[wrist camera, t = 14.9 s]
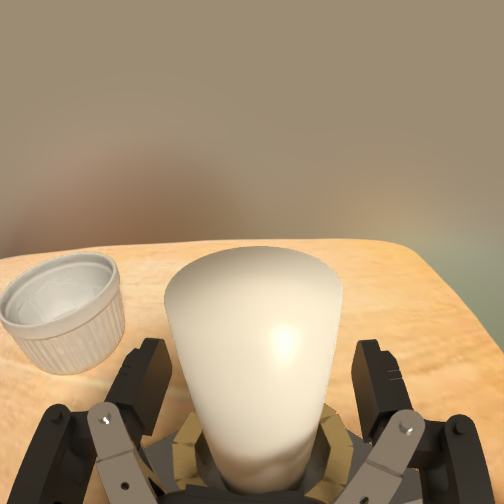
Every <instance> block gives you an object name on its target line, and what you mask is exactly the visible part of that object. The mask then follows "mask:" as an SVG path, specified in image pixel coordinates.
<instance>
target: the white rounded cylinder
mask: <svg viewBox="0 0 504 504" xmlns="http://www.w3.org/2000/svg"><path fill="white" fill-rule="evenodd" d="M342 302H343V287H342V283H341V281H340V279H339V277H338V276H337V274H336V273H335V272H334V271H333V270H332V269H331V268H330V267H329V266H328V265H327V264H325V263H324V262H322V261H320V260H319V259H317V258H315V257H313V256H311V255H308V254H305V253H302V252H299V251H295V250H291V249H286V248H279V247H268V246H253V247H240V248H233V249H228V250H223V251H219V252H216V253H212V254H209V255H207V256H204V257H202V258H199V259H197V260H195V261H193V262H192V263H190V264H188V265H187V266H185V267H184V268H182V269H181V270H180V271H179V272H178V273H177V274H176V275H175V276H174V277H173V278H172V279H171V281H170V282H169V284H168V286H167V288H166V290H165V295H164V305H165V309H166V313H167V317H168V321H169V324H170V328H171V332H172V336H173V339H174V343H175V346H176V350H177V353H178V357H179V360H180V364H181V367H182V370H183V373H184V377H185V380H186V383H187V386H188V389H189V392H190V395H191V398H192V401H193V404H194V407H195V410H196V413H197V416H198V419H199V422H200V425H201V427H202V430H203V433H204V436H205V438H206V441H207V444H208V446H209V449H210V451H211V454H212V456H213V459H214V461H215V464H216V466H217V469H218V471H219V474H220V476H221V479H222V481H223V483H224V485H225V486H226V488H227V489H228V490H229V491H230V492H231V493H233V494H236V495H240V496H250V495H256V494H261V493H267V492H272V491H296V490H297V489H298V487H299V486H300V485H301V483H302V481H303V479H304V476H305V473H306V470H307V466H308V463H309V459H310V456H311V452H312V448H313V445H314V441H315V437H316V433H317V429H318V425H319V421H320V417H321V413H322V409H323V405H324V400H325V396H326V391H327V387H328V382H329V377H330V372H331V367H332V362H333V357H334V351H335V346H336V340H337V334H338V328H339V322H340V316H341V309H342Z"/></svg>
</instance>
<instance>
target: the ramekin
mask: <svg viewBox="0 0 504 504" xmlns="http://www.w3.org/2000/svg"><path fill="white" fill-rule="evenodd" d="M119 285H120V275H119V271H118V268H117V265H116V263H115V261H114V260H113V259H112V258H110V257H109V256H107V255H104V254H101V253H96V252H77V253H71V254H66V255H62V256H59V257H55V258H52V259H49V260H47V261H44V262H42V263H40V264H38V265H36V266H34V267H32V268H30V269H28V270H27V271H25V272H24V273H22V274H21V275H20V276H18V277H17V278H16V279H15V280H14V281H12V282H11V283H10V284H9V285H8V287H7V288H6V289H5V290H4V292H3V293H2V295H1V296H0V321H1V323H2V325H3V327H4V328H5V329H6V331H7V332H8V333H10V334H11V335H12V337H13V338H14V340H15V341H16V343H17V344H18V346H19V347H20V348H21V350H22V351H23V352H24V354H25V355H26V356H27V357H28V359H29V360H30V361H31V362H32V363H33V364H34V365H35V366H36V367H38V368H40V369H41V370H43V371H46V372H48V373H52V374H56V375H74V374H79V373H82V372H85V371H87V370H90V369H92V368H94V367H96V366H97V365H99V364H100V363H102V362H103V361H104V360H106V359H107V358H108V357H109V356H110V355H111V354H112V353H113V351H114V350H115V349H116V347H117V346H118V344H119V342H120V340H121V338H122V335H123V333H124V328H125V316H124V310H123V304H122V299H121V293H120V287H119Z"/></svg>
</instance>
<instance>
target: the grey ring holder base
mask: <svg viewBox="0 0 504 504" xmlns="http://www.w3.org/2000/svg"><path fill="white" fill-rule="evenodd" d="M194 412H195V413H194ZM194 412H190V414H189V416H188V417H187V419H186V421H185V422H184V424H183V426H182V427H181V429H180V430H179V431H177V432H175V433H173V434H172V435H170V436H168V437H166V438H164V439H162V440H161V441H159V442H157V443H155V444H153V445H151V446H149V447H147V448H146V449H144V450H145V452H146V454H147V456H148V458H149V460H150V462H151V464H152V466H153V468H154V470H155V472H156V474H157V476H158V478H159V479H160V481H161V482H162V484H163V485H164V487H165V488H166V490H167V491H168V492H173V491H177V490H184V489H185V488H186V484H192V485H199V486H206V487H215V488H217V489H221V490H224V491H227V492H230V491H229V490H228V489H227V488H226V486H225V485H224V483H223V481H222V479H221V476H220V474H219V471H218V469H217V466H216V464H215V461H214V459H213V456H212V454H211V451H210V449H209V446H208V444H207V441H206V438H205V436H204V433H203V430H202V427H201V425H200V422H199V419H198V416H197V413H196V410H195V409H194ZM372 449H373V447H372V445H371V444H369V443H364V442H363V439H361V438H360V437H358V436H356V435H355V434H353V433H352V432H350V431H349V430H347V429H346V428H345V426H344V424H343V422H342V420H341V418H340V416H339V414H336V411H335V410H334V409H332V408H331V407H329V406H328V405H326V404H325V403H324V405H323V409H322V413H321V417H320V421H319V425H318V429H317V433H316V437H315V441H314V445H313V448H312V452H311V456H310V459H309V463H308V466H307V470H306V473H305V476H304V479H303V481H302V483H301V485H300V486H299V487H298V489H297V490H296V491H299V490H304V496H309V497H312V498H316V499H319V500H321V501H323V502H325V503H327V504H334V503H335V502H336V500H337V499H338V498H339V497H340V495H341V494H342V493H343V491H344V490H345V489H346V487H347V486H348V485H349V483H350V482H351V480H352V479H353V478H354V476H355V475H356V473H357V472H358V471H359V469H360V468H361V466H362V465H363V463H364V462H365V460H366V459H367V457H368V456H369V454H370V453H371V451H372ZM230 493H231V492H230ZM388 504H423V496H422V489H421V481H420V474H419V473H418V472H417V471H415V470H413V469H411V468H406V469H405V471H404V473H403V479H402V481H401V483H400V485H399V487H398V488H397V490H396V492H395V493H394V495H393V497H392V498H391V500H390V502H389V503H388Z"/></svg>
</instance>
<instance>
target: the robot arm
mask: <svg viewBox="0 0 504 504" xmlns="http://www.w3.org/2000/svg"><path fill="white" fill-rule="evenodd" d="M171 375H172V363H171V360H170V357H169V354H168V351H167V347H166V344H165V341H164V340H163V339H156V338H145V339H144V341H143V343H142V345H141V347H140V349H137V348H135V349H133V350H132V351H131V352H130V353H129V354H128V355H127V356H126V358H125V360H124V362H123V364H122V367H121V368H120V370H119V372H118V374H117V376H116V378H115V380H114V382H113V384H112V386H111V388H110V391H109V393H108V395H107V397H106V399H105V401H104V402H101V403H98V404H96V405H94V406H93V407H92V408H91V409H90V410H89V411H83V412H71V411H70V410H69V409H68V408H67V407H66V406H65V405H63V404H55V405H52V406H50V407H49V408H48V409H47V410H46V411H45V413H44V415H43V417H42V419H41V421H40V423H39V425H38V427H37V429H36V432H35V434H34V436H33V438H32V440H31V443H30V445H29V447H28V450H27V452H26V454H25V457H24V459H23V461H22V464H21V466H20V469H19V471H18V474H17V476H16V479H15V482H14V484H13V487H12V490H11V493H10V495H9V498H8V501H7V504H83V500H84V497H85V493H86V490H87V486H88V483H89V480H90V476H91V473H92V470H93V467H94V464H95V460H96V457H97V456H98V457H99V461H97V462H96V466H97V470H98V472H99V475H100V478H101V481H102V484H103V486H104V489H105V492H106V494H107V497H108V499H109V502H110V504H327V503H325V502H323V501H321V500H319V499H316V498H312V497H309V496H304V490H299V491H272V492H267V493H261V494H256V495H250V496H240V495H236V494H233V493H230V492H227V491H224V490H221V489H217V488H215V487H206V486H199V485H192V484H186V488H185V489H184V490H177V491H173V492H169V493H168V492H167V490H166V488H165V487H164V485H163V484H162V482H161V481H160V479H159V478H158V476H157V474H156V472H155V470H154V468H153V466H152V464H151V462H150V460H149V458H148V456H147V454H146V452H145V450H144V448H143V445H142V443H141V442H140V441H141V438H142V435H147V436H152V433H153V430H154V427H155V424H156V421H157V418H158V415H159V412H160V409H161V406H162V403H163V399H164V396H165V393H166V391H167V388H168V385H169V382H170V379H171ZM351 375H352V382H353V387H354V392H355V397H356V403H357V408H358V413H359V419H360V425H361V430H362V436H363V442H364V443H369V442H372V447H373V449H372V451H371V453H370V454H369V456H368V457H367V459H366V460H365V462H364V463H363V465H362V466H361V468H360V469H359V471H358V472H357V473H356V475H355V476H354V478H353V479H352V480H351V482H350V483H349V485H348V486H347V487H346V489H345V490H344V491H343V493H342V494H341V495H340V497H339V498H338V499H337V500H336V502H335V503H334V504H388V503H389V502H390V500H391V498H392V497H393V495H394V493H395V492H396V490H397V488H398V487H399V485H400V483H401V481H402V479H403V473H404V471H405V469H406V468H418V469H419V474H420V481H421V489H422V496H423V504H495V501H494V496H493V491H492V486H491V481H490V477H489V473H488V469H487V465H486V461H485V457H484V454H483V450H482V446H481V443H480V440H479V436H478V433H477V430H476V427H475V424H474V422H473V421H472V420H471V419H470V418H469V417H467V416H465V415H461V414H458V415H454V416H452V417H450V418H449V419H448V420H447V422H439V421H429V420H425V419H423V417H422V416H421V415H420V414H419V413H417V412H416V411H414V410H413V408H412V405H411V402H410V399H409V395H408V392H407V389H406V386H405V383H404V380H403V379H402V375H401V372H400V371H399V366H398V363H397V361H396V359H395V357H394V356H393V355H392V354H391V353H390V352H389V351H381V350H380V347H379V344H378V341H377V340H376V339H372V340H359V341H358V342H357V346H356V350H355V355H354V359H353V363H352V369H351Z"/></svg>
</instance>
